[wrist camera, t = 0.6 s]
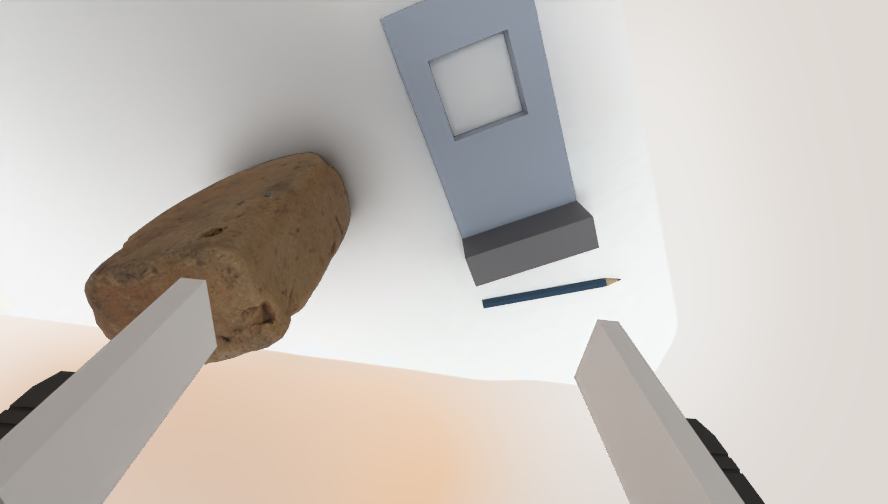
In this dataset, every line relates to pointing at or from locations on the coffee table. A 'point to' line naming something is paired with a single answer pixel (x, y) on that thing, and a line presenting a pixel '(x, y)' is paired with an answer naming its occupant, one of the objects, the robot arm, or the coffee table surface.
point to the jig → (495, 140)
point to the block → (233, 252)
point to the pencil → (548, 292)
